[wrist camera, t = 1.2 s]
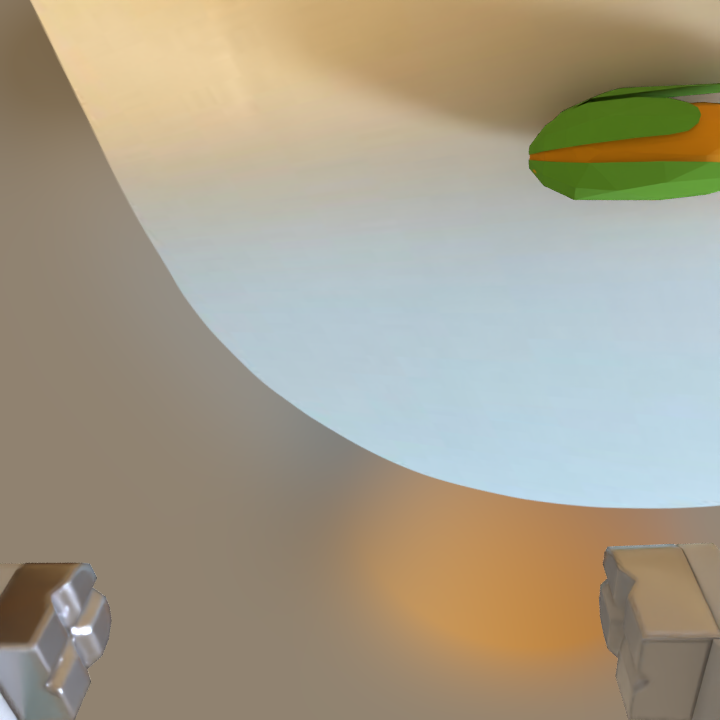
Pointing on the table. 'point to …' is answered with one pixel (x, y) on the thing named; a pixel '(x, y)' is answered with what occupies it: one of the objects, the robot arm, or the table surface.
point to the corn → (632, 146)
